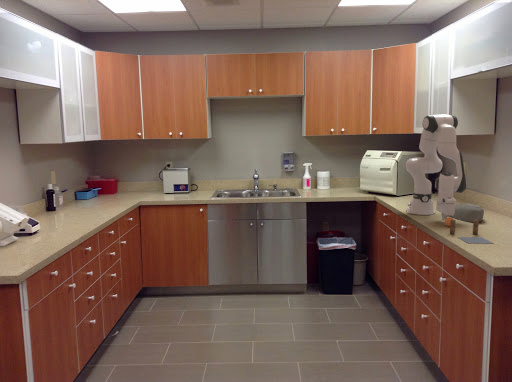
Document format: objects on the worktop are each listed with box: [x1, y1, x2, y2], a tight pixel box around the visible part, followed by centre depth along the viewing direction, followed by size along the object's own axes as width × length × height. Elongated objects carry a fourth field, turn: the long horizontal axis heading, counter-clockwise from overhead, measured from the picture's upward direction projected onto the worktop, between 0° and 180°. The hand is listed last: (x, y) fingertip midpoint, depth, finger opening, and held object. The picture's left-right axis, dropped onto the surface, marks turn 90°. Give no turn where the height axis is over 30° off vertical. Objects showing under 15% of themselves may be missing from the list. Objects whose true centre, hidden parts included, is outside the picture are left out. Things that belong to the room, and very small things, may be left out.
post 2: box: [472, 220, 480, 236], centre depth 245 cm, size 3×3×8 cm
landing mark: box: [457, 236, 494, 245], centre depth 232 cm, size 13×13×1 cm
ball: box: [444, 216, 455, 228], centre depth 265 cm, size 6×6×6 cm
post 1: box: [449, 219, 457, 236], centre depth 246 cm, size 3×3×8 cm
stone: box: [450, 202, 485, 223], centre depth 287 cm, size 28×10×20 cm
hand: (444, 220), depth 274 cm, fingers closed
